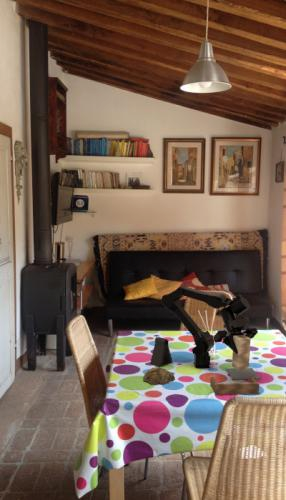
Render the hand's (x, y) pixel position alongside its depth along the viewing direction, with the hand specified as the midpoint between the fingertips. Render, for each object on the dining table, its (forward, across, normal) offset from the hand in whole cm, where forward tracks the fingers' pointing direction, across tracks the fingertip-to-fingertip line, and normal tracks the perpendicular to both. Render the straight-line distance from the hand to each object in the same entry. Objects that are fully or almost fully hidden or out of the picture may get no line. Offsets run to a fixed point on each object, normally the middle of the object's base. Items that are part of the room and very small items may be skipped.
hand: (243, 353), depth 182 cm
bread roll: (-1, -32, +20) cm, 37 cm away
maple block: (+4, 0, +6) cm, 7 cm away
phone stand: (-13, -23, +32) cm, 41 cm away
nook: (+12, -7, +5) cm, 15 cm away
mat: (+4, +5, +14) cm, 16 cm away
